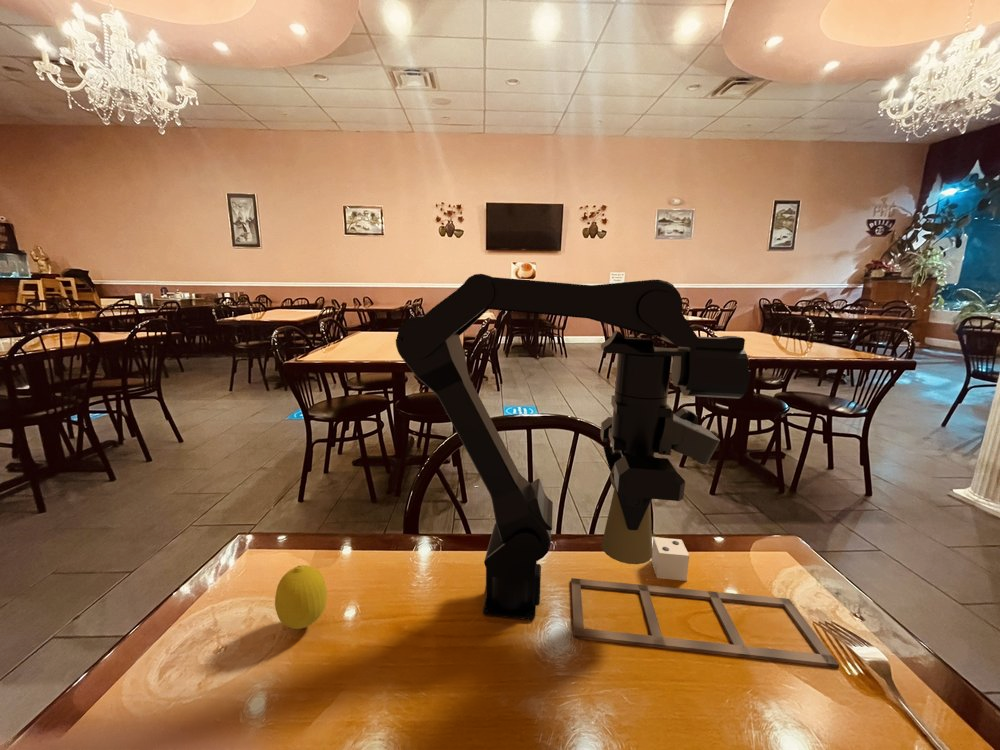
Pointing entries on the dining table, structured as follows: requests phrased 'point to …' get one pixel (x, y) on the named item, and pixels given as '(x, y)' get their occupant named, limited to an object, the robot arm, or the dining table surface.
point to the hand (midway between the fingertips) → (629, 519)
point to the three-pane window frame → (659, 641)
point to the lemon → (300, 597)
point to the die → (670, 559)
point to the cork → (626, 535)
